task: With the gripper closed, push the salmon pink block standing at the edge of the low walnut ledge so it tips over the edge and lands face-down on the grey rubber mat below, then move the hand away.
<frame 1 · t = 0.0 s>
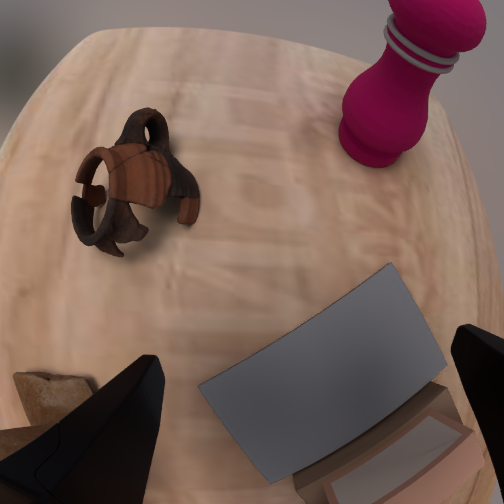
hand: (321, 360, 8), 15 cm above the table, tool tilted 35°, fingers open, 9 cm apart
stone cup: (90, 435, 21), on the table
ledge: (383, 459, 19), on the table
mat: (333, 381, 21), on the table
salmon pink block: (388, 463, 17), point 3 cm above the table, touching ledge
pottery mug: (149, 196, 25), on the table
pepper mill: (369, 140, 25), on the table
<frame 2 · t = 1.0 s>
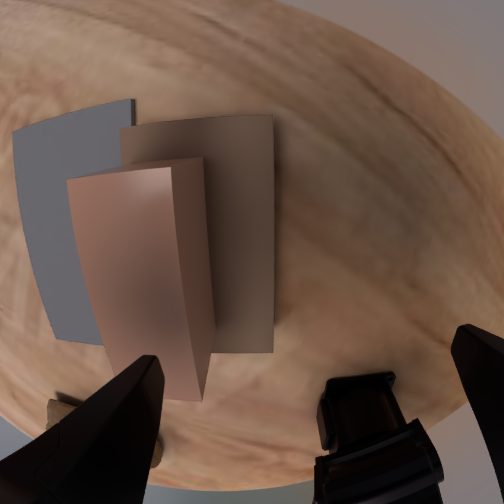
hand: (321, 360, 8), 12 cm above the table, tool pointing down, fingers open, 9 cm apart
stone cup: (102, 422, 27), on the table
ledge: (207, 234, 19), on the table
mat: (79, 239, 19), on the table
salmon pink block: (173, 251, 16), point 3 cm above the table, touching ledge
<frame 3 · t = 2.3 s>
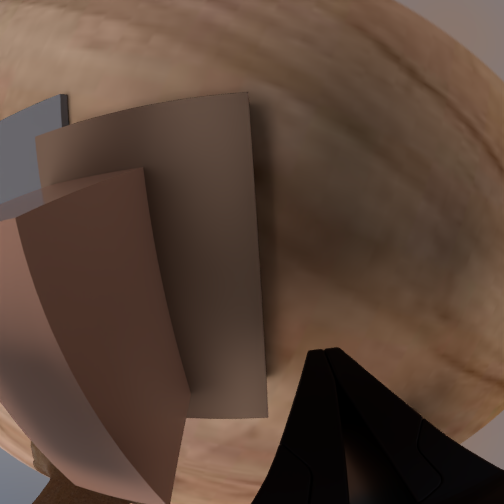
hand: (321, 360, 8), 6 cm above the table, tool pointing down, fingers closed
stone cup: (90, 459, 22), on the table
ledge: (172, 270, 14), on the table
mat: (26, 276, 14), on the table
salmon pink block: (120, 304, 11), point 3 cm above the table, touching ledge
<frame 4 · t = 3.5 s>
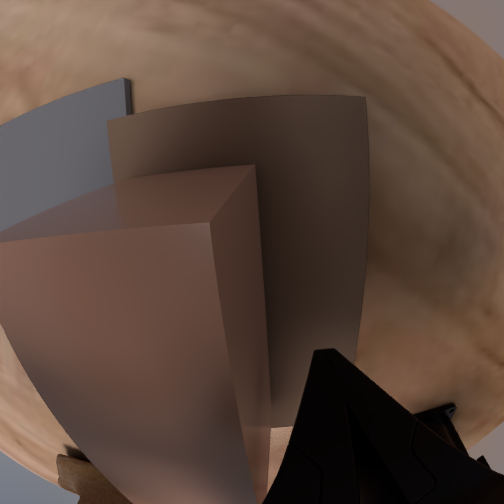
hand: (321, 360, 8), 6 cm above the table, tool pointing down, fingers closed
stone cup: (121, 473, 22), on the table
ledge: (251, 275, 13), on the table
mat: (66, 285, 13), on the table
salmon pink block: (208, 317, 10), point 3 cm above the table, touching gripper, ledge
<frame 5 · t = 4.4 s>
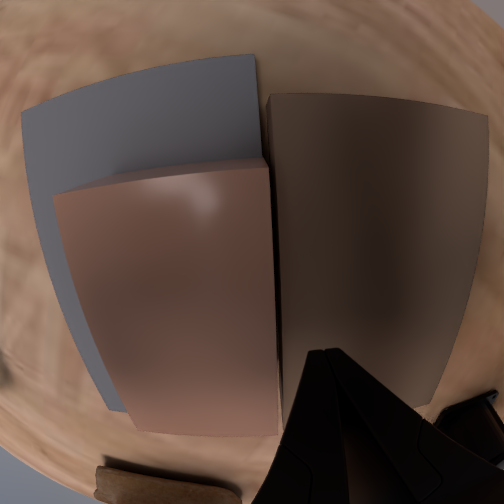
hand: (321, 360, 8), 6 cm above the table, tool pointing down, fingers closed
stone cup: (164, 481, 21), on the table
ledge: (364, 269, 13), on the table
mat: (149, 282, 13), on the table
salmon pink block: (272, 308, 10), point 3 cm above the table, tilted 90°, touching mat
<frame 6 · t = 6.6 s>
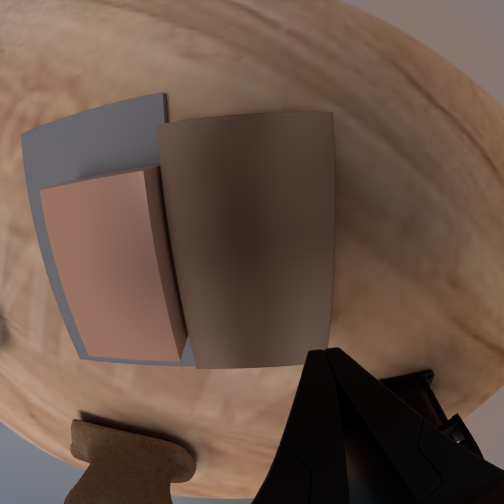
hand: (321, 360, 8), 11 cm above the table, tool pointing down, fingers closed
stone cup: (130, 439, 26), on the table
ledge: (254, 241, 18), on the table
mat: (105, 251, 18), on the table
salmon pink block: (171, 262, 15), point 3 cm above the table, tilted 90°, touching mat
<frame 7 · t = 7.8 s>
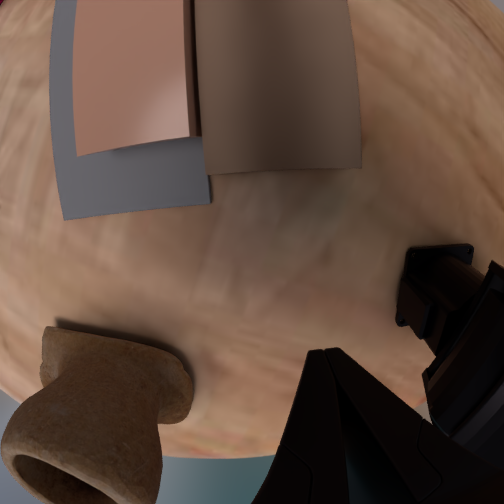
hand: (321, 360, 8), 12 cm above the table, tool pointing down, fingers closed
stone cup: (114, 359, 23), on the table
ledge: (272, 53, 15), on the table
mat: (118, 75, 15), on the table
salmon pink block: (192, 47, 12), point 3 cm above the table, tilted 90°, touching mat
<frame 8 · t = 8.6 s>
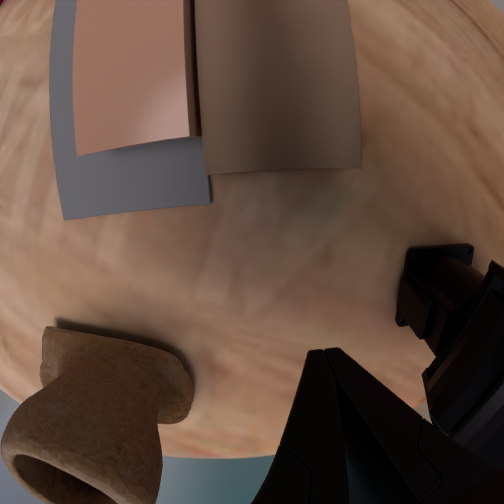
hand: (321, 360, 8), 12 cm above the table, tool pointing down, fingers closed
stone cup: (114, 359, 23), on the table
ledge: (272, 53, 15), on the table
mat: (118, 75, 15), on the table
salmon pink block: (192, 47, 12), point 3 cm above the table, tilted 90°, touching mat
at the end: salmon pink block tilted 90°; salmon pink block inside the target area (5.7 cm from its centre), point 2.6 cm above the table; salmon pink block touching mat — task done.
